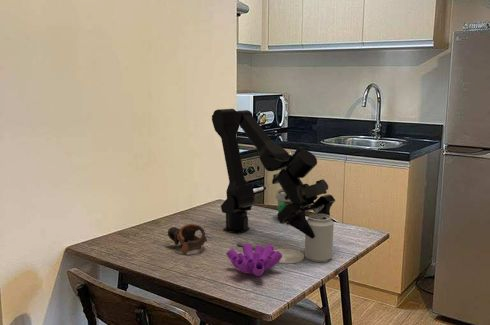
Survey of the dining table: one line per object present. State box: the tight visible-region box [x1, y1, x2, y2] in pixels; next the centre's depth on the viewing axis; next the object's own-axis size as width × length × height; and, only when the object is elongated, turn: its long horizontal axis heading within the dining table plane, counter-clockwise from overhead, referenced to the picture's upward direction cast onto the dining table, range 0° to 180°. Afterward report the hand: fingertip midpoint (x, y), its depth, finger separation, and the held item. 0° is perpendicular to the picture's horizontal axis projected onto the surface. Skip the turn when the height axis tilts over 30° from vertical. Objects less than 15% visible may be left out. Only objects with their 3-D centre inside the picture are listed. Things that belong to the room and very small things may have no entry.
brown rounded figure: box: [167, 223, 208, 255], centre depth 142 cm, size 12×10×8 cm
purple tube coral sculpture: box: [225, 243, 282, 277], centre depth 126 cm, size 11×15×10 cm
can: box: [304, 213, 334, 263], centre depth 134 cm, size 8×8×12 cm
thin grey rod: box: [236, 241, 265, 251], centre depth 142 cm, size 11×1×1 cm, turn 56°
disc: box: [274, 248, 305, 265], centre depth 136 cm, size 10×10×1 cm
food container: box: [275, 188, 292, 214], centre depth 171 cm, size 12×6×10 cm, turn 172°
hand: (323, 234), depth 133 cm, fingers closed on can, 7 cm apart
